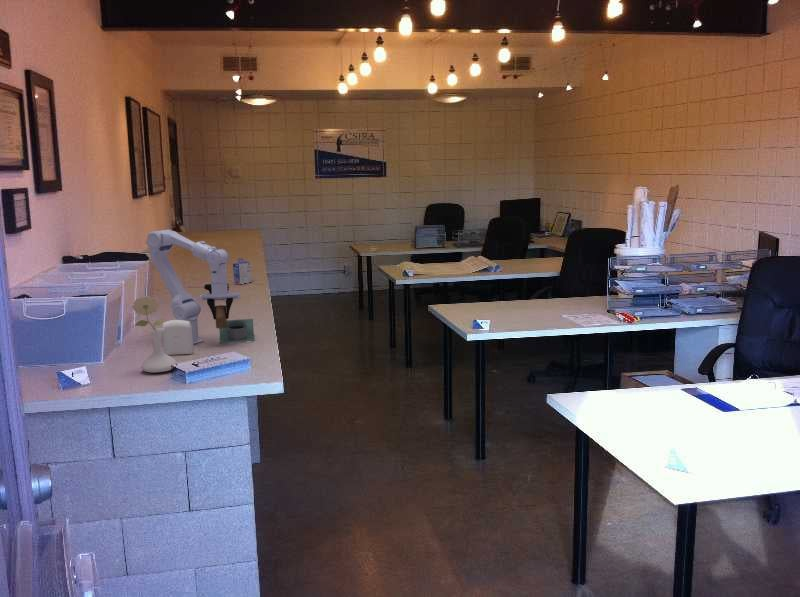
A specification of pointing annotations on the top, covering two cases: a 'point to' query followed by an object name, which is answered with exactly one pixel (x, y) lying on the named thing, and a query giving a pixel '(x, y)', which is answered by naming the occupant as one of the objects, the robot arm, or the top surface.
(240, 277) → the ink cartridge box
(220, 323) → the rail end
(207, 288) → the controller
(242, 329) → the cup bracket
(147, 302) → the flower in vase
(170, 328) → the photo printer
